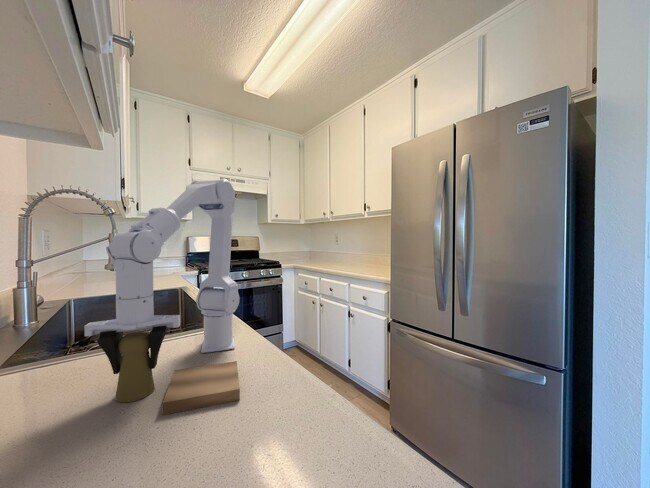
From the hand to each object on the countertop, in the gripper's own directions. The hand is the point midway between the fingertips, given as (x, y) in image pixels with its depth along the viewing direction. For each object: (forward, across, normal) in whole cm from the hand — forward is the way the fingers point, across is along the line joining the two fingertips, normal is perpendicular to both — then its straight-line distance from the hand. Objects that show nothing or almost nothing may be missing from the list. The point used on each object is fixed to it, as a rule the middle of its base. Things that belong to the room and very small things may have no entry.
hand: (136, 369), depth 51 cm
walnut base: (+4, +12, -3) cm, 13 cm away
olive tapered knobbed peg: (+5, 0, 0) cm, 5 cm away
